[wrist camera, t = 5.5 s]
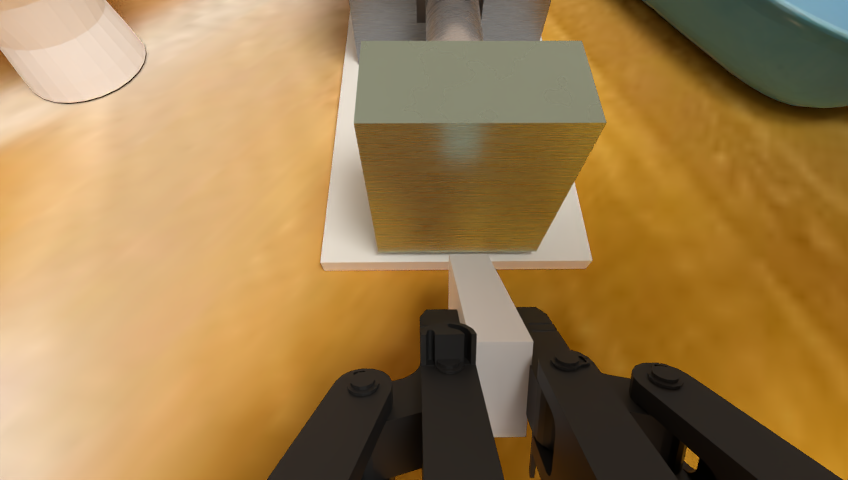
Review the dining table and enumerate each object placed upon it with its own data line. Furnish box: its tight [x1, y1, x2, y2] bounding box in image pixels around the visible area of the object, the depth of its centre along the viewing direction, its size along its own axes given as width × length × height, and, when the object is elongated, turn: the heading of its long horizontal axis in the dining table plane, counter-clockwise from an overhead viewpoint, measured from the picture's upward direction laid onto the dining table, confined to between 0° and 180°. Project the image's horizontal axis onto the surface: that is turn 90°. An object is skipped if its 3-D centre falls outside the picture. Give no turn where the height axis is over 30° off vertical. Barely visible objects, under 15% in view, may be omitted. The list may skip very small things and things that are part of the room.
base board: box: [320, 12, 593, 271], centre depth 28 cm, size 26×14×1 cm, turn 1°
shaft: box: [354, 0, 606, 253], centre depth 21 cm, size 18×8×9 cm, turn 1°
